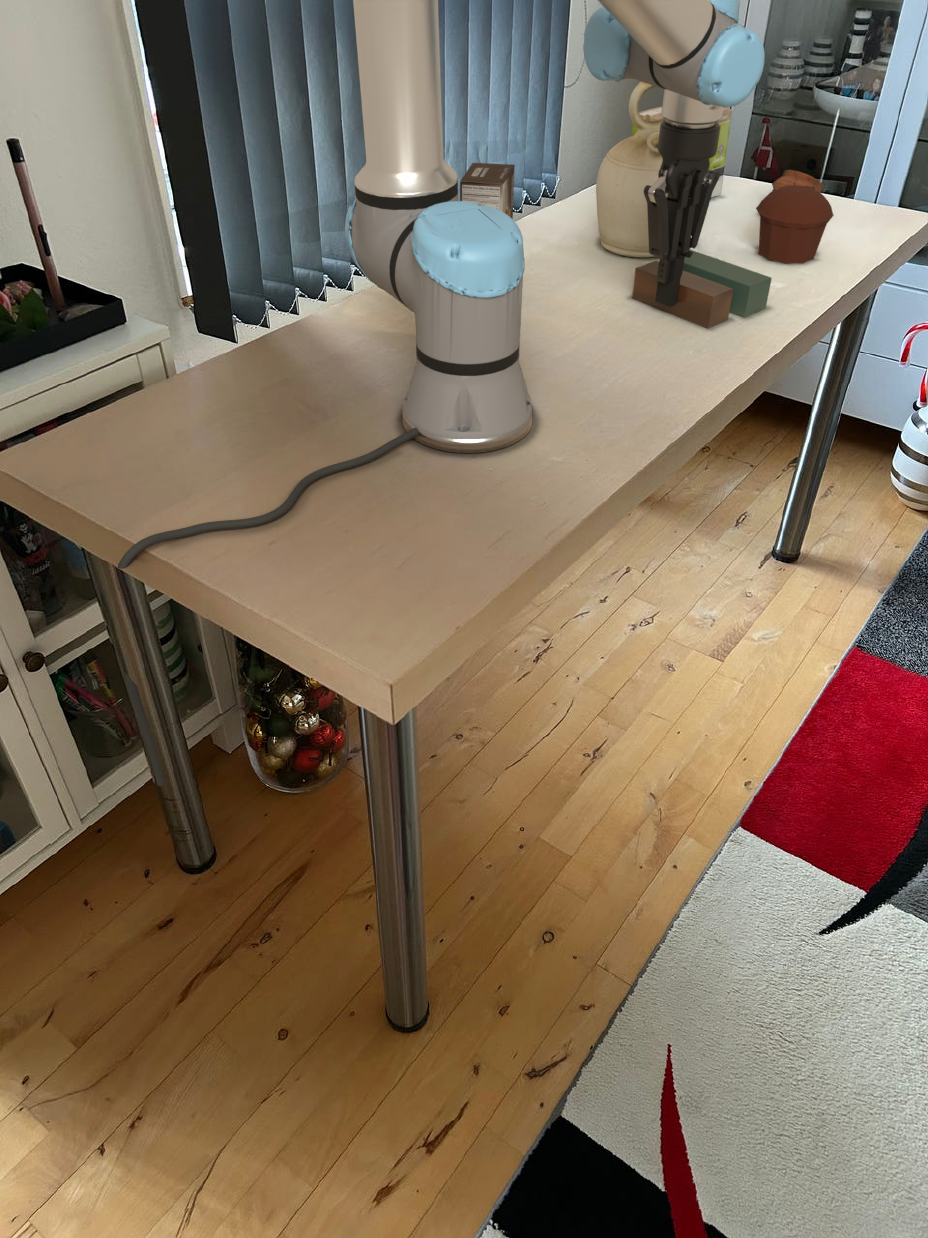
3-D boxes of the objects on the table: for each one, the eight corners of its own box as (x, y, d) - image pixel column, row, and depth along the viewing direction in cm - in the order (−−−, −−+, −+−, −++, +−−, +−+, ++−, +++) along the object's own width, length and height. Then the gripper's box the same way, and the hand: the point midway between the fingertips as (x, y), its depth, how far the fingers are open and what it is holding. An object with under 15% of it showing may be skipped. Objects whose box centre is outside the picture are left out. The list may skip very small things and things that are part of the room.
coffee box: (470, 270, 155) (472, 160, 145) (511, 274, 154) (515, 163, 144) (458, 293, 148) (459, 179, 138) (501, 297, 147) (504, 182, 137)
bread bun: (747, 211, 178) (770, 165, 176) (789, 234, 182) (811, 188, 179) (782, 215, 168) (807, 165, 165) (825, 238, 171) (850, 190, 169)
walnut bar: (707, 328, 139) (713, 296, 136) (631, 298, 147) (635, 267, 144) (728, 319, 141) (733, 288, 138) (652, 290, 149) (656, 260, 147)
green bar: (744, 317, 142) (750, 286, 139) (657, 284, 151) (661, 254, 148) (765, 308, 144) (772, 277, 142) (679, 276, 154) (683, 246, 151)
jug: (678, 267, 157) (703, 90, 141) (581, 255, 160) (595, 81, 144) (693, 235, 168) (718, 67, 152) (602, 224, 171) (617, 59, 155)
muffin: (824, 245, 164) (839, 181, 158) (823, 269, 156) (839, 203, 149) (750, 238, 167) (761, 174, 160) (745, 262, 158) (757, 196, 152)
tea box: (680, 183, 189) (692, 96, 180) (721, 196, 183) (735, 108, 174) (623, 199, 182) (632, 109, 173) (664, 213, 176) (676, 121, 166)
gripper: (681, 135, 121) (656, 323, 136) (747, 117, 127) (716, 298, 143) (633, 123, 125) (614, 306, 140) (700, 106, 132) (675, 283, 147)
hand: (665, 302), depth 141 cm, fingers closed
